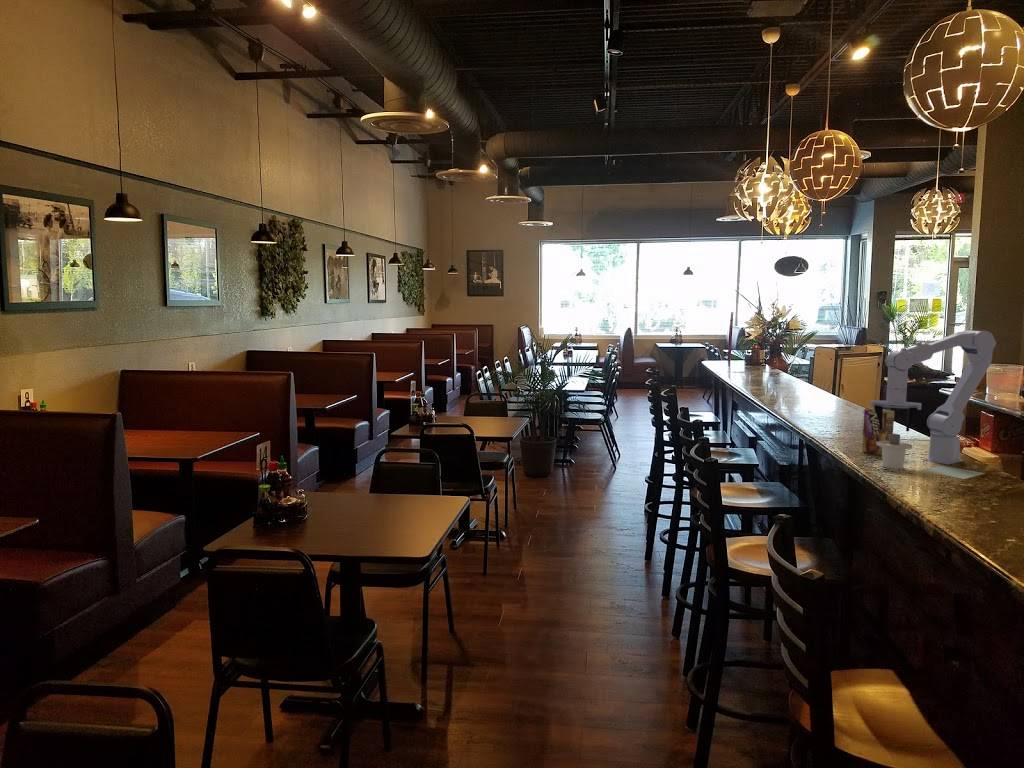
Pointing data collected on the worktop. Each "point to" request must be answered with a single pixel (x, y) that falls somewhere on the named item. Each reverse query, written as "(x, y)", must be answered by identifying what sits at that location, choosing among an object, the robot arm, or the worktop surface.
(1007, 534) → the worktop surface
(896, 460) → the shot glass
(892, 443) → the lid
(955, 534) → the worktop surface
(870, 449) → the candy box
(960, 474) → the mat
